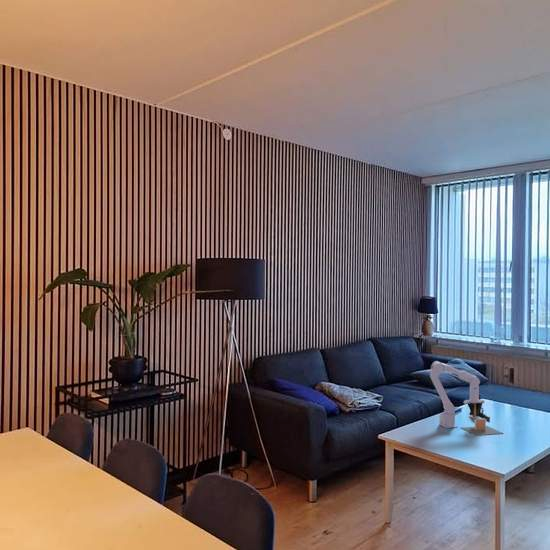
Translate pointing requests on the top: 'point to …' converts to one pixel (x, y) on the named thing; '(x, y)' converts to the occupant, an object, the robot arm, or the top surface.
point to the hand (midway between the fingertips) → (474, 414)
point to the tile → (480, 424)
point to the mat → (481, 431)
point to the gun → (481, 413)
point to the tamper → (474, 413)
